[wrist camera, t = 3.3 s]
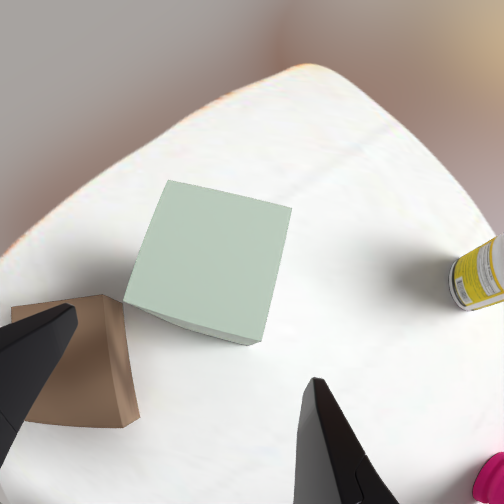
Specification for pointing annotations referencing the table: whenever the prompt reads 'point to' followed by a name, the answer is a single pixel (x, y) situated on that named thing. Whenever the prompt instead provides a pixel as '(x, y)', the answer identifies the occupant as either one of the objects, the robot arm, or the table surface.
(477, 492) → the pepper mill
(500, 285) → the supplement bottle
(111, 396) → the walnut block
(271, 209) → the tall block
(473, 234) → the table surface
